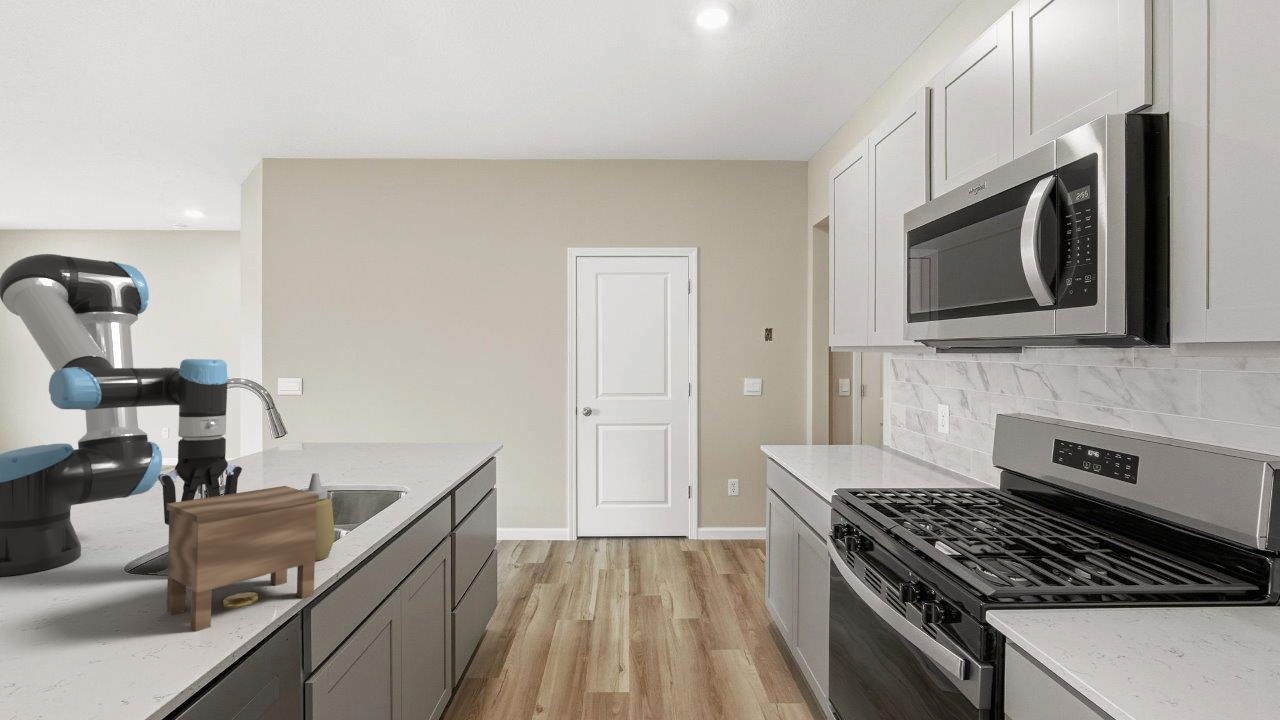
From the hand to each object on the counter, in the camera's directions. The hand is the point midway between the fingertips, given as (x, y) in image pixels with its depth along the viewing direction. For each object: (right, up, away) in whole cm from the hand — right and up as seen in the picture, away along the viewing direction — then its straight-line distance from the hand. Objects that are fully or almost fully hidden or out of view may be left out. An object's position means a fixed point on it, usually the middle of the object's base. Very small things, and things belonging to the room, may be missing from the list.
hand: (199, 556), depth 115 cm
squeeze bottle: (+16, -4, +10) cm, 20 cm away
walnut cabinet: (+17, -4, -13) cm, 22 cm away
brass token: (+17, -4, -13) cm, 21 cm away
